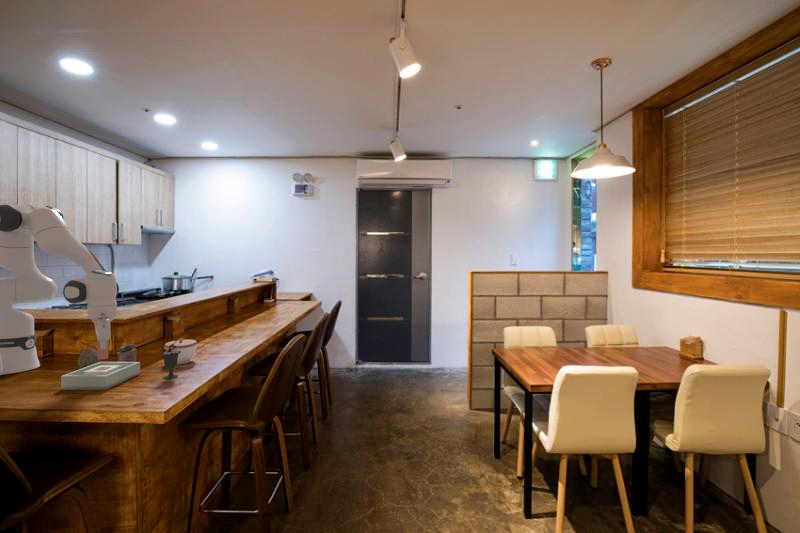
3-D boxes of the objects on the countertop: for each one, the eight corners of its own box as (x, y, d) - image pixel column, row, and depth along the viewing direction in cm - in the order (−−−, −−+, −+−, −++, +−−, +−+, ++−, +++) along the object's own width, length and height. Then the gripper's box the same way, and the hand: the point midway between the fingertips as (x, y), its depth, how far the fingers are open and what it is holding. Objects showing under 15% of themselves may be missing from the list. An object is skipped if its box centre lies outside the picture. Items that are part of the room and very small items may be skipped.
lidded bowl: (174, 358, 173) (174, 335, 173) (201, 358, 174) (201, 335, 174) (158, 366, 161) (158, 341, 160) (188, 366, 161) (188, 341, 161)
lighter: (121, 371, 154) (121, 347, 153) (115, 370, 154) (114, 347, 154) (138, 365, 161) (138, 343, 161) (132, 364, 162) (132, 342, 162)
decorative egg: (102, 370, 154) (102, 346, 154) (81, 374, 149) (80, 350, 148) (96, 367, 158) (96, 344, 158) (75, 371, 152) (75, 347, 152)
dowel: (96, 359, 138) (95, 333, 138) (99, 357, 141) (99, 332, 141) (106, 359, 139) (105, 333, 139) (109, 357, 142) (109, 331, 142)
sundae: (184, 376, 148) (184, 339, 147) (166, 381, 142) (166, 343, 142) (175, 373, 151) (175, 337, 151) (157, 378, 145) (157, 341, 145)
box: (61, 389, 132) (61, 375, 132) (100, 373, 150) (100, 361, 150) (106, 389, 132) (106, 376, 132) (140, 373, 150) (140, 361, 150)
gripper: (114, 314, 134) (115, 351, 135) (111, 309, 150) (111, 342, 150) (92, 316, 130) (93, 354, 130) (91, 310, 146) (91, 344, 146)
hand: (102, 348), depth 140 cm, fingers closed on dowel, 3 cm apart
